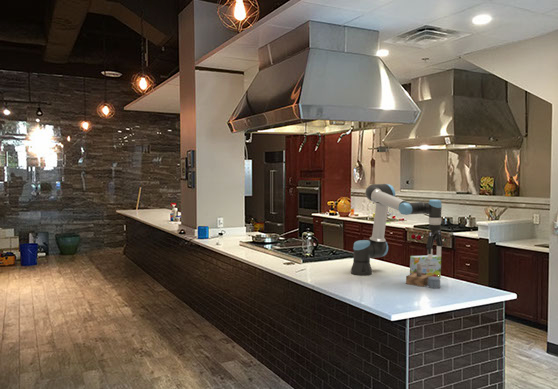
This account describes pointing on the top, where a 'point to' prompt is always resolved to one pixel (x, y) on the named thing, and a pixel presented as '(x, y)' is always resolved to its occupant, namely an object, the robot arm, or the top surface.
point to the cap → (433, 282)
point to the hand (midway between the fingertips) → (434, 257)
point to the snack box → (426, 265)
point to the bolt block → (418, 277)
